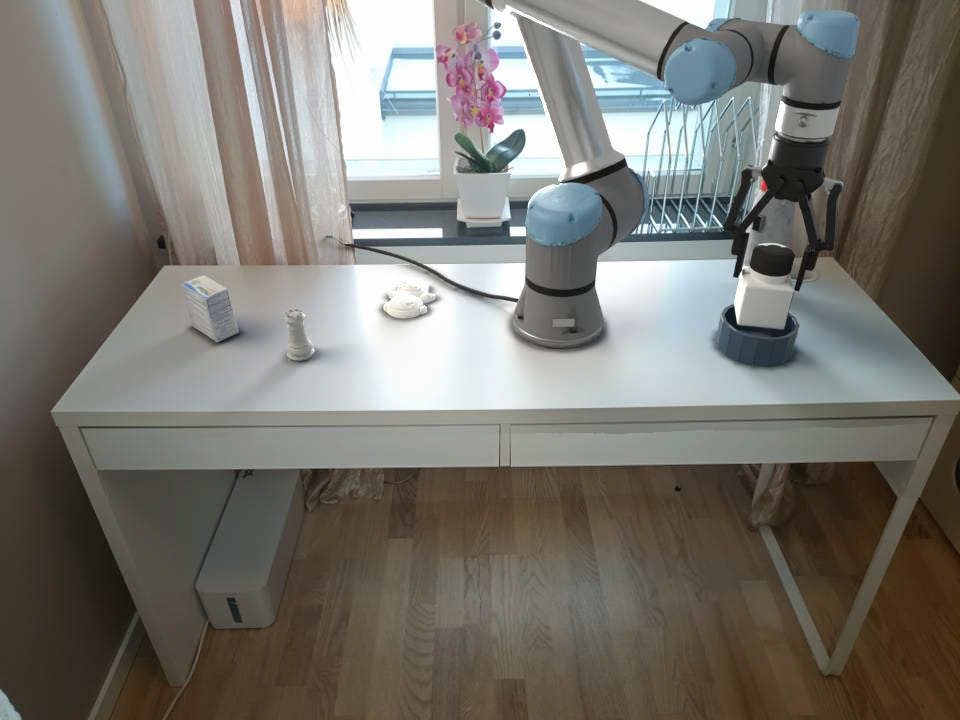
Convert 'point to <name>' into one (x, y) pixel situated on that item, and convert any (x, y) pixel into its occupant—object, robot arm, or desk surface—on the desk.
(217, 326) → the medicine box
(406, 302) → the astronaut figurine
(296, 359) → the rook chess piece
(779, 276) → the medicine bottle
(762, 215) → the toy rocket
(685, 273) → the desk surface
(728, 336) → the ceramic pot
